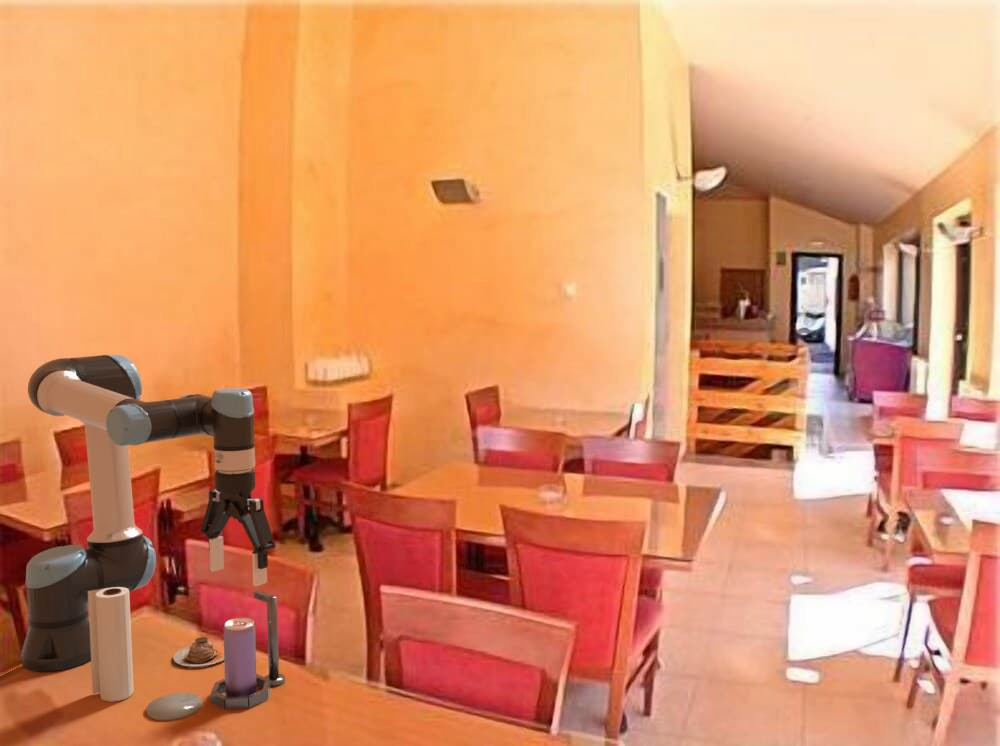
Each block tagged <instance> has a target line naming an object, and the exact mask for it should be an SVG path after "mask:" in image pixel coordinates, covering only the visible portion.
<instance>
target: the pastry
mask: <svg viewBox="0 0 1000 746" xmlns="http://www.w3.org/2000/svg"><path fill="white" fill-rule="evenodd" d="M213 644H214V642H213V643H212V642H211V641H209V638H208V637H204V636H202V637H201V636H200V637H197V638H195V639H194V642H192V643H191V644H190V645H189V646H186V647H183V648H181V649H179V650H178V651H176V652H175V653H174V655H173V657H172V658H173V662H174V663H176V664H177V665H180V666H182V667H187V668H189V669H193V668H194V667H195V668H199V667H203V668H208V667H207V666H209V667H211V666H210V665H212V666H214V665H217V664H216V663H218V664H219V662H220V663H221V662H223V661H224V658H222V659H221V660H219V661H217V660H216V661H217V662H214V661H212V662H213V663H211V662H208V661H209V659H210V660H212V659H214V658H215V657H216V656H217V655H218V654H219V652H218V651H217V650H215V649H214V648H213ZM215 644H219V645H222V646H224V644H221V643H216V642H215ZM214 651H216V653H217V654H216V655H214ZM213 655H214V656H215V657H214V656H213ZM185 658H186V659H187V661H189V662H192V663H195V664H191V663H187V662H186V661H185V660H184V659H185ZM211 658H212V659H211ZM207 660H208V661H207ZM205 661H206V662H208V663H205ZM202 662H203V664H202ZM213 664H214V665H213Z"/></svg>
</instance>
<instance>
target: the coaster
mask: <svg viewBox="0 0 1000 746" xmlns="http://www.w3.org/2000/svg"><path fill="white" fill-rule="evenodd" d="M202 704H203V703H202V698H201V697H200V696H198V695H196V694H194V693H189V692H188V693H187V692H178V693H169V694H166V695H163V696H160V697H157V698H156V699H154V700H152V701H151V702H150V703H148V704H147V706H146V709H145V711H146V712H145V713H146V715H147V716H148V718H150V719H151V720H155V721H177V720H180V719H184V718H188V717H189V716H191V715H194V714H195V713H197V712H198V711H199V710H200V709H201V707H202Z"/></svg>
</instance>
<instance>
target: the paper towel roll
mask: <svg viewBox="0 0 1000 746" xmlns="http://www.w3.org/2000/svg"><path fill="white" fill-rule="evenodd" d="M130 599H131V598H130V592H129V590H128V588H124V587H112V588H103V589H99V590H93V591H88V617H89V626H90V646H91V660H90V661H91V681H92V682H91V683H92V686H91V687H92V694H97V693H99V694H100V695H99V696H100V698H101V700H102V701H104V702H112V703H113V702H119V701H122V700H125V699H128V698H130V697H132V696H133V693H134V670H133V668H134V667H133V648H132V647H133V646H132V645H133V643H132V628H131V627H132V626H131V605H130V603H131V601H130Z"/></svg>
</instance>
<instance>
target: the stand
mask: <svg viewBox="0 0 1000 746" xmlns="http://www.w3.org/2000/svg"><path fill="white" fill-rule="evenodd" d="M253 597H254V598H253V599H256V600H259V601H262V602H265V603H266V611H267V613H266V616H267V617H266V620H267V649H268V650H267V652H268V653H267V654H268V655H267V656H268V658H267V659H268V674H266V675H265V676H262V675H260V674H257V673H256V677H257V689H260V690H257V692H256V693H253V694H251V695H249V696H240V697H226V695H224V694H222V693H224V692H225V678H223V679H221V680H218V681H217V682H214V684H213V687H212V689H211V692H210V702H211V704H213V705H214V706H217V707H219V708H220V709H223V710H240V709H241V710H243V709H244V710H245V709H246V710H247V709H251V708H253V707H255V706H257V705H258V706H259V704H262V703H265V702H266V701H268V700H269V697H270V693H271V687H272V688H273V687H274V688H275V687H278V686H281V685H282V686H283V684H285V682H286V675H285V674H282V673H280V662H279V632H278V631H279V629H278V628H279V622H278V618H279V617H278V595H276V594H270V593H266V592H264V591H261V590H257V591H254V592H253Z"/></svg>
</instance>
